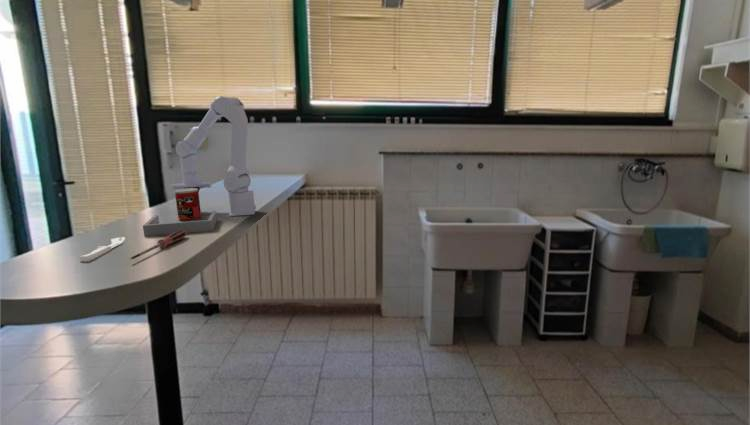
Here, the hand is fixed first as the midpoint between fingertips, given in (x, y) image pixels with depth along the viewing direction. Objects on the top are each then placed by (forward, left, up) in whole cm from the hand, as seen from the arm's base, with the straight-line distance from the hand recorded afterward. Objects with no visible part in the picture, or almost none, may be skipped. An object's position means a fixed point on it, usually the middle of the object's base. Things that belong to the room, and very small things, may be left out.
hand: (194, 206), depth 163 cm
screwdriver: (+2, +50, -3) cm, 50 cm away
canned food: (0, +12, -3) cm, 12 cm away
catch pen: (0, +25, -2) cm, 25 cm away
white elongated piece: (+18, +40, -3) cm, 45 cm away
